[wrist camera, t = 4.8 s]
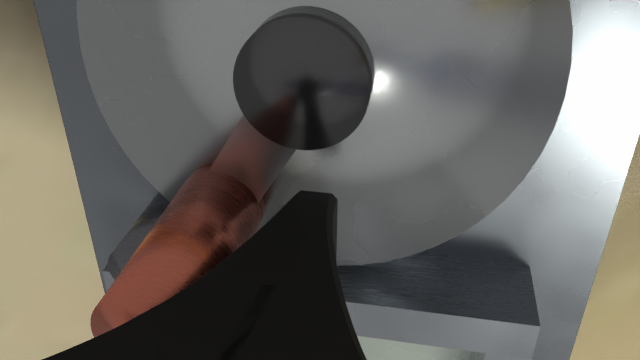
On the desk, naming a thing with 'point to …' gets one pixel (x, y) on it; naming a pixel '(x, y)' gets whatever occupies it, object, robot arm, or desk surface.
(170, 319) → the robot arm
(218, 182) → the crank
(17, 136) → the desk surface
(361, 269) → the crank bench
